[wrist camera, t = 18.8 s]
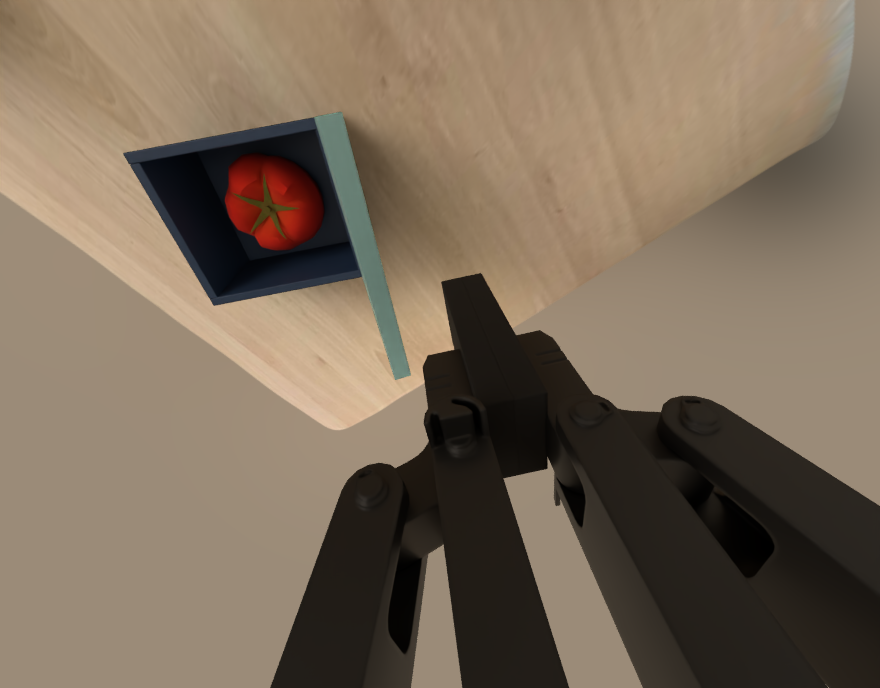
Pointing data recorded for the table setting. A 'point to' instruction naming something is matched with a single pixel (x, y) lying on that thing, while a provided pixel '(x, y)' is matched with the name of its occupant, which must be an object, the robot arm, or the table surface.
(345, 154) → the chest lid
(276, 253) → the chest
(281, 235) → the tomato
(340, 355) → the table surface
